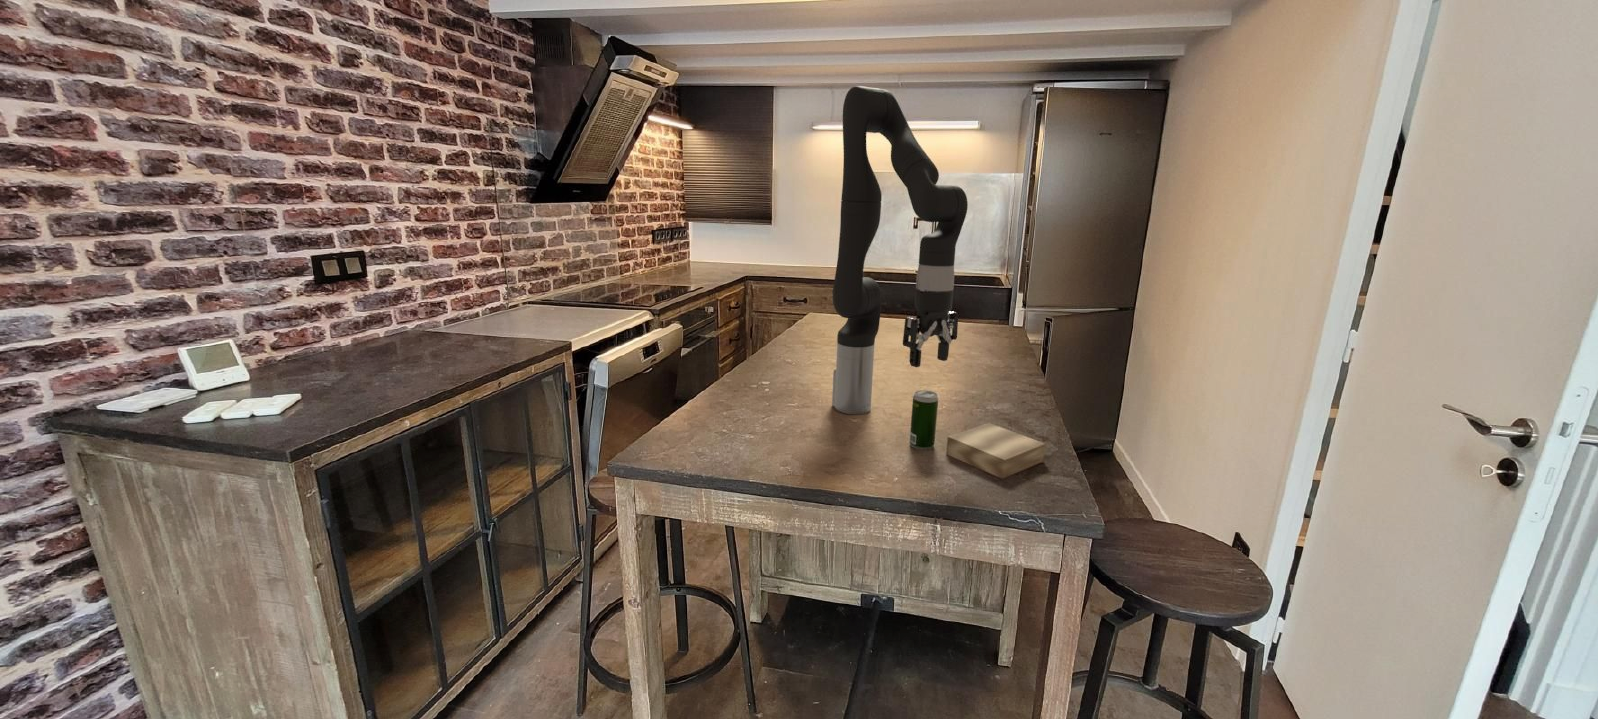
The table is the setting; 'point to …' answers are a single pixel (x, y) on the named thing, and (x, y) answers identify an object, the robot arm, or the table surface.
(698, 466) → the table surface
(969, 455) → the oak pedestal
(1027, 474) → the table surface
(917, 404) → the beer can
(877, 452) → the table surface
